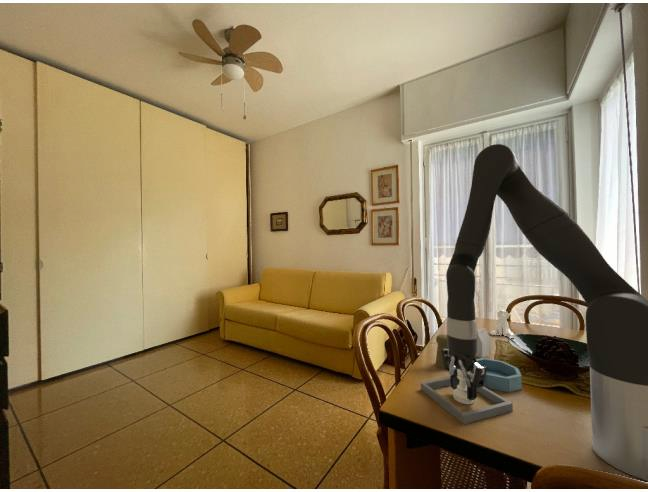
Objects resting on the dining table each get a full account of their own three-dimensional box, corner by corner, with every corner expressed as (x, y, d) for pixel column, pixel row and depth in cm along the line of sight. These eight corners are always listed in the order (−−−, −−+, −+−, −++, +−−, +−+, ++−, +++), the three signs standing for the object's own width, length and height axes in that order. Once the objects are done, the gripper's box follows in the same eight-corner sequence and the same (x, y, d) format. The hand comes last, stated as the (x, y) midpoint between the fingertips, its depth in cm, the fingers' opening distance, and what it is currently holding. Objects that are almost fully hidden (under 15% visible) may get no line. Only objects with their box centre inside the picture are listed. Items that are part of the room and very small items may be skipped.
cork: (456, 370, 87) (455, 338, 87) (437, 369, 88) (436, 338, 88) (451, 362, 93) (450, 333, 93) (433, 361, 94) (433, 332, 94)
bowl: (531, 386, 76) (530, 373, 76) (499, 394, 72) (498, 380, 72) (491, 367, 88) (491, 356, 88) (462, 373, 85) (462, 361, 85)
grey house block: (491, 354, 100) (490, 329, 100) (482, 358, 96) (481, 332, 96) (481, 351, 103) (480, 326, 103) (472, 355, 99) (471, 329, 99)
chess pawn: (451, 400, 70) (450, 368, 70) (455, 392, 74) (454, 361, 74) (471, 407, 67) (470, 373, 67) (475, 398, 71) (474, 366, 71)
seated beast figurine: (490, 335, 120) (489, 310, 121) (491, 330, 127) (490, 307, 127) (514, 339, 115) (513, 313, 115) (514, 334, 122) (513, 309, 122)
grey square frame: (512, 410, 65) (512, 403, 65) (464, 424, 60) (463, 416, 60) (462, 380, 80) (462, 374, 80) (420, 389, 76) (420, 382, 76)
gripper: (495, 340, 65) (497, 406, 65) (452, 324, 79) (453, 379, 78) (472, 344, 63) (474, 412, 62) (432, 327, 76) (434, 383, 76)
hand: (463, 393), depth 70 cm, fingers closed on chess pawn, 5 cm apart
